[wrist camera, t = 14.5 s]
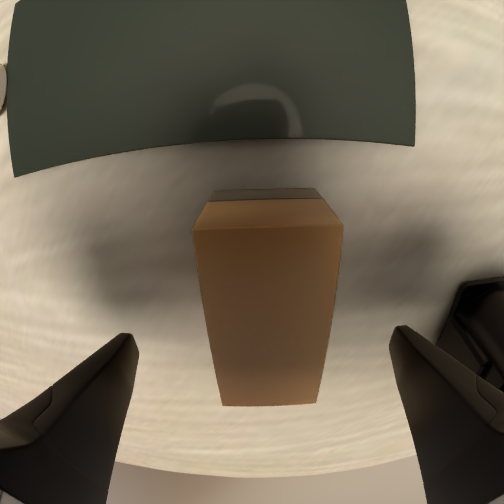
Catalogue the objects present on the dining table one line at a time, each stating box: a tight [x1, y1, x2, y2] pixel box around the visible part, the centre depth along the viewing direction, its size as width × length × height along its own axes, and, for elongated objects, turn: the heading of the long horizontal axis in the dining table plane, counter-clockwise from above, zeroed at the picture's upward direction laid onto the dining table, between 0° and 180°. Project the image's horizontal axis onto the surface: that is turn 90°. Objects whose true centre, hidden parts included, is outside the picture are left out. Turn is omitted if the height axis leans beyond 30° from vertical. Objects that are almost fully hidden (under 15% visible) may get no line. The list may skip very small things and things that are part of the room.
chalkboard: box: [7, 0, 416, 177], centre depth 8 cm, size 18×10×1 cm, turn 92°
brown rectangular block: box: [192, 189, 343, 406], centre depth 11 cm, size 4×8×4 cm, turn 2°
